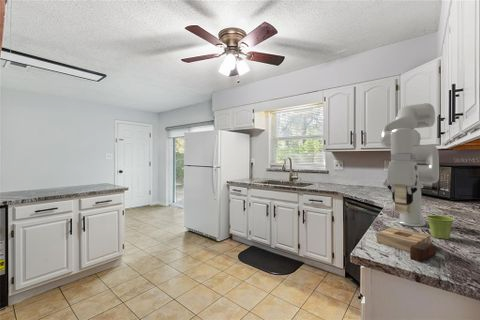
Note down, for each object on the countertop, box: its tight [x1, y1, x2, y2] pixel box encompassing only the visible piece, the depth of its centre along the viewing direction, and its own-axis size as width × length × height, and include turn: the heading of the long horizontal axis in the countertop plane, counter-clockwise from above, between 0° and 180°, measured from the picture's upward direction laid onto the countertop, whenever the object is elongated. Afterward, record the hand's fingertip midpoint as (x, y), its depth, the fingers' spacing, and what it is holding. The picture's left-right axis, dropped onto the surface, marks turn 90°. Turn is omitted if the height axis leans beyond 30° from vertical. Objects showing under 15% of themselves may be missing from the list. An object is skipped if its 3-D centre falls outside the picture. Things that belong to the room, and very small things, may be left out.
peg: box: [394, 184, 410, 214], centre depth 93 cm, size 4×4×12 cm
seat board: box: [376, 226, 432, 253], centre depth 93 cm, size 14×14×4 cm
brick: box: [409, 242, 437, 263], centre depth 80 cm, size 11×4×5 cm, turn 121°
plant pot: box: [426, 214, 455, 240], centre depth 101 cm, size 9×9×9 cm
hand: (402, 202), depth 93 cm, fingers closed on peg, 4 cm apart
